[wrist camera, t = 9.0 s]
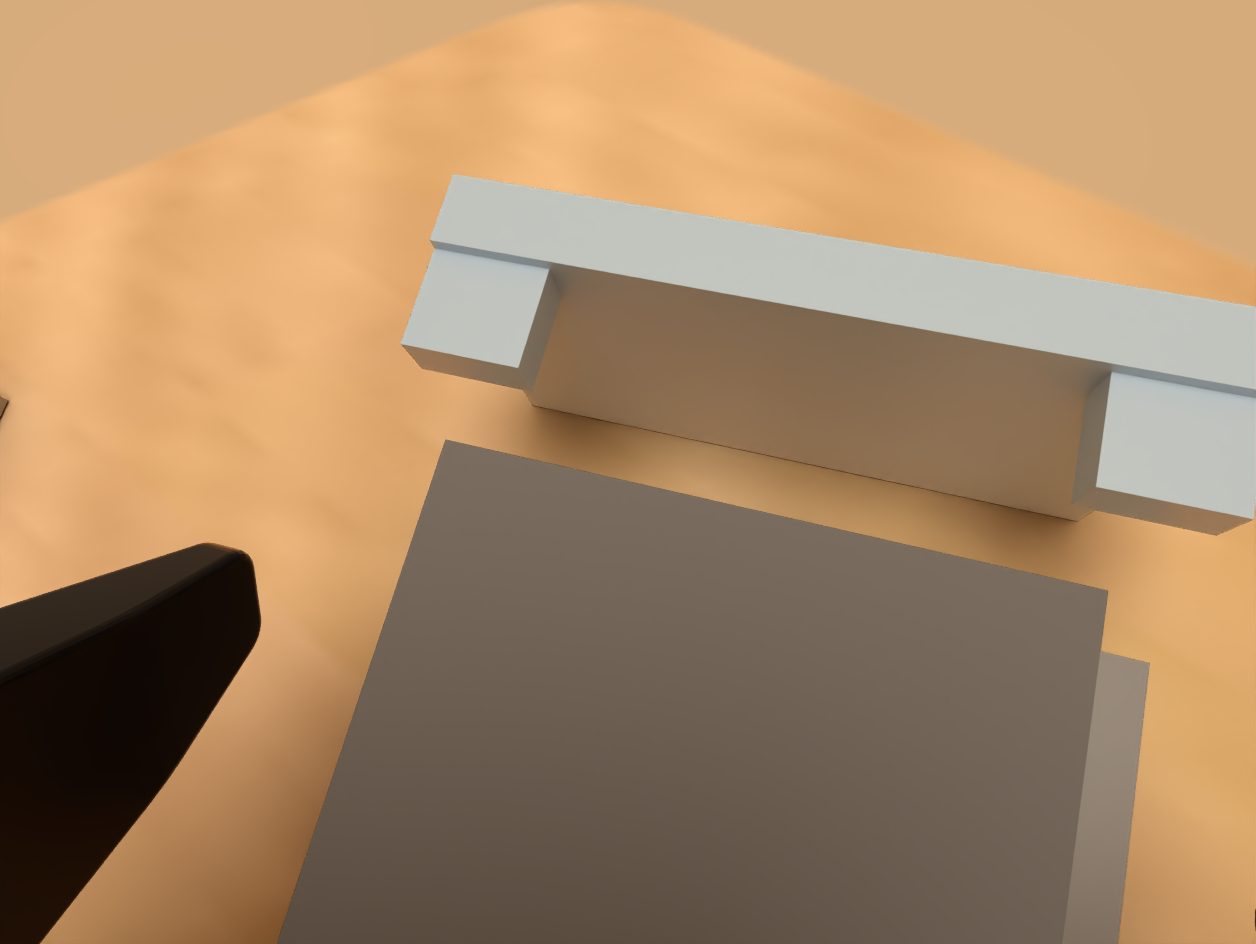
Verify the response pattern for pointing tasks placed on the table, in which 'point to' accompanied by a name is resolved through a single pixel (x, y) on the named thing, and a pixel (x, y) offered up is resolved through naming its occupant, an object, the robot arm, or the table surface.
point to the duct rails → (868, 387)
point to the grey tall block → (699, 731)
